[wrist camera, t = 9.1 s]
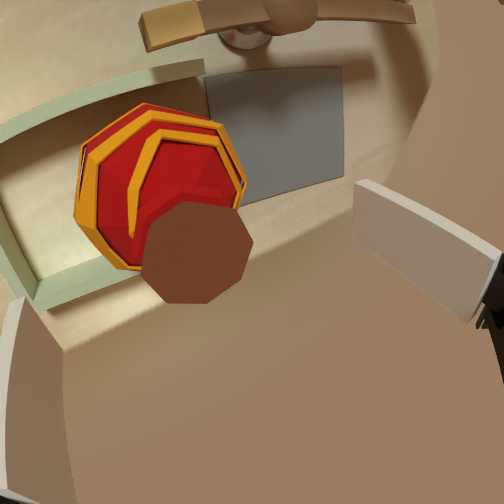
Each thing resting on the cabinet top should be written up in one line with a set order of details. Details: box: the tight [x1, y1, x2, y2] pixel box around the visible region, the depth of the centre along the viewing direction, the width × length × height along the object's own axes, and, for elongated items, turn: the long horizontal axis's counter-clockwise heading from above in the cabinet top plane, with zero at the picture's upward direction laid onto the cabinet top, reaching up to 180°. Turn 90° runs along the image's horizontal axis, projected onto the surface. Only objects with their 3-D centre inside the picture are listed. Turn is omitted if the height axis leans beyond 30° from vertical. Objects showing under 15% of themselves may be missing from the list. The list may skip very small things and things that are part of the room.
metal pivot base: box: [217, 26, 271, 50], centre depth 17 cm, size 5×5×4 cm
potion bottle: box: [73, 103, 254, 304], centre depth 16 cm, size 10×10×15 cm
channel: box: [0, 58, 206, 313], centre depth 19 cm, size 19×15×3 cm
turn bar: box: [138, 0, 416, 53], centre depth 15 cm, size 4×23×2 cm, turn 105°
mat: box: [204, 68, 344, 206], centre depth 26 cm, size 14×12×1 cm
